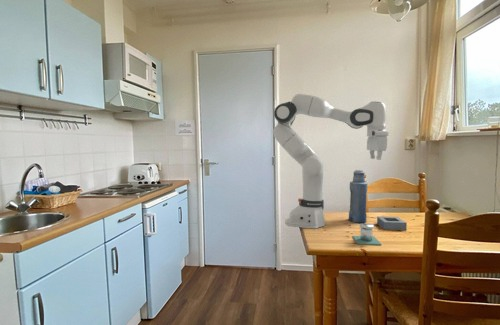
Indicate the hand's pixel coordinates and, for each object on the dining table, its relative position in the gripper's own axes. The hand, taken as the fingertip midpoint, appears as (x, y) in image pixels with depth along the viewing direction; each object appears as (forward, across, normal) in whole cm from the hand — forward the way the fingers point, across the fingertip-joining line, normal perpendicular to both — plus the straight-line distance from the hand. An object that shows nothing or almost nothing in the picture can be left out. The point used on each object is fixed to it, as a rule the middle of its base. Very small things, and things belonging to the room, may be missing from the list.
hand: (375, 159), depth 143 cm
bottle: (+37, -13, -5) cm, 40 cm away
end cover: (+36, +21, -10) cm, 43 cm away
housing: (+37, -3, +10) cm, 39 cm away
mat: (+37, +21, -10) cm, 44 cm away
